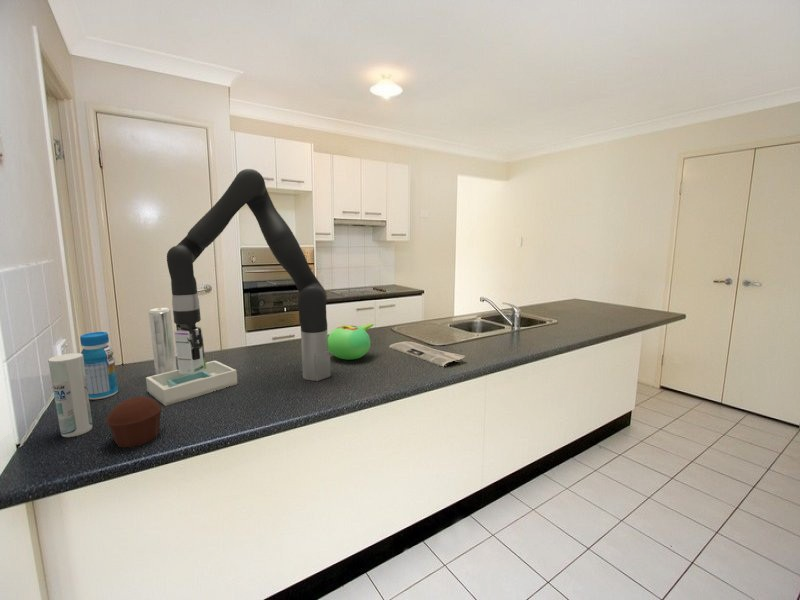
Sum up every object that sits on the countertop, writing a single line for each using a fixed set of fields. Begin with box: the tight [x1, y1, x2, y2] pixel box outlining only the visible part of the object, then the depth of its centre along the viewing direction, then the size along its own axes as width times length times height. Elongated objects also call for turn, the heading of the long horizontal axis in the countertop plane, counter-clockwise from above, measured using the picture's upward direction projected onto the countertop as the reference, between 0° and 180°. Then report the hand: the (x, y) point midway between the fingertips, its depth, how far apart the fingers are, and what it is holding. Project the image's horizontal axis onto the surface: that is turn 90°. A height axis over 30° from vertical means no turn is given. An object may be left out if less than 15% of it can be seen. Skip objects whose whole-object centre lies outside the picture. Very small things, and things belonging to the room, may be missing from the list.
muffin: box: [104, 396, 163, 448], centre depth 92 cm, size 12×11×10 cm
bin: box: [145, 360, 238, 407], centre depth 123 cm, size 16×22×5 cm
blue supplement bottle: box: [79, 331, 119, 401], centre depth 116 cm, size 8×8×20 cm
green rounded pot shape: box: [328, 323, 374, 361], centre depth 154 cm, size 18×17×15 cm
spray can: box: [48, 352, 93, 438], centre depth 94 cm, size 6×6×20 cm
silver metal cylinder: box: [148, 307, 178, 375], centre depth 132 cm, size 6×6×25 cm
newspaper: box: [389, 340, 466, 368], centre depth 159 cm, size 35×12×4 cm, turn 40°
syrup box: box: [173, 326, 207, 375], centre depth 121 cm, size 6×6×14 cm
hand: (191, 356), depth 122 cm, fingers closed on syrup box, 7 cm apart
